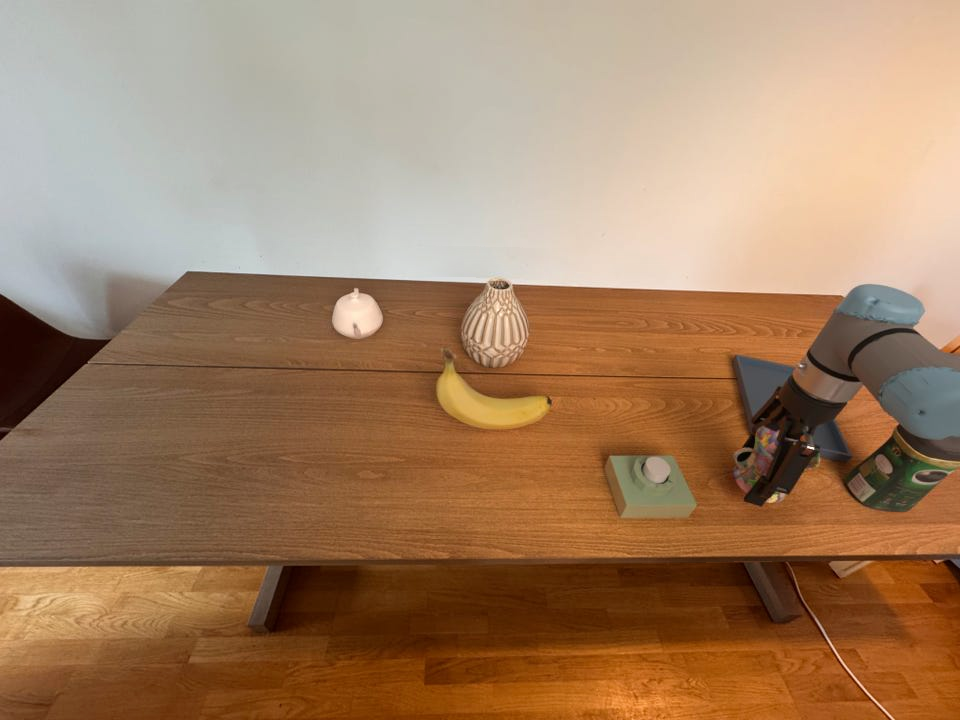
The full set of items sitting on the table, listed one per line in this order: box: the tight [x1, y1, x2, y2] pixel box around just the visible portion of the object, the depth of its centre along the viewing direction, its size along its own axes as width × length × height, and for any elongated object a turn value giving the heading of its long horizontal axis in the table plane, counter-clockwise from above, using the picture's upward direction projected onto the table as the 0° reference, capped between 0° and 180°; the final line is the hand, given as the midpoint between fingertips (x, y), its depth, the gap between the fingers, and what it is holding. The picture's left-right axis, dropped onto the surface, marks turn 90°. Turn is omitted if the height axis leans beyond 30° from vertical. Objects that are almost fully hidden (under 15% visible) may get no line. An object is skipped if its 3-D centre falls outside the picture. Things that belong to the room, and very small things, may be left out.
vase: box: [460, 277, 531, 369], centre depth 96 cm, size 16×16×20 cm
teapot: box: [331, 287, 384, 340], centre depth 104 cm, size 20×12×10 cm, turn 12°
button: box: [642, 457, 671, 484], centre depth 71 cm, size 4×4×2 cm
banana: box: [435, 346, 553, 431], centre depth 79 cm, size 23×6×20 cm, turn 95°
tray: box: [732, 354, 853, 464], centre depth 94 cm, size 27×17×2 cm, turn 163°
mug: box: [732, 426, 821, 504], centre depth 71 cm, size 12×9×11 cm
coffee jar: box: [844, 423, 960, 513], centre depth 72 cm, size 10×8×19 cm
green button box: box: [603, 454, 698, 519], centre depth 73 cm, size 12×10×6 cm
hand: (747, 480), depth 75 cm, fingers closed on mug, 8 cm apart
